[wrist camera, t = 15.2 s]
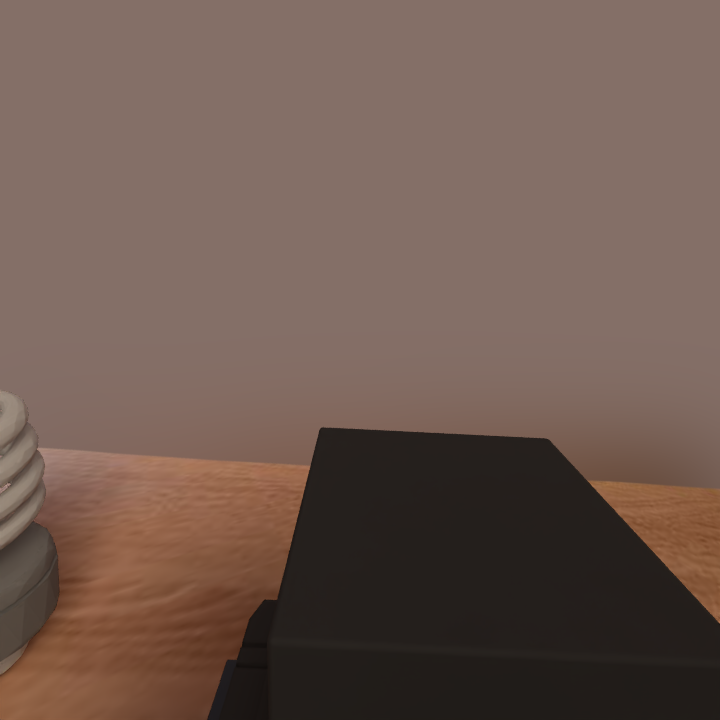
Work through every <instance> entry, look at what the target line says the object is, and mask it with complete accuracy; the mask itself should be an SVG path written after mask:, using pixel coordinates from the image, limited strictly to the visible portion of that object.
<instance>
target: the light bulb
mask: <svg viewBox="0 0 720 720" xmlns="http://www.w3.org/2000/svg"><path fill="white" fill-rule="evenodd" d="M0 410H2V412H1V411H0V455H2V457H1V458H0V488H1V487H3V486H4V485H6V484H7V483H10V484H11V486H10V487H8V488H7V489H6V490H5V491H4V492H2V493H1V494H0V676H1V675H2V674H3V673H4V672H5V671H7V670H8V669H9V668H10V667H11V666H12V665H13V664H14V663H15V662H16V661H17V660H18V659H19V658H20V657H21V656H22V654H23V652H24V650H25V649H26V647H27V645H28V641H29V640H30V639H31V638H33V637H34V636H35V635H36V634H37V633H38V632H39V631H40V629H41V628H42V627H43V625H44V624H45V622H46V621H47V620H48V618H49V617H50V615H51V614H52V613H53V611H54V610H55V607H56V605H57V601H58V597H59V574H58V555H57V551H56V547H55V543H54V541H53V537H52V536H51V534H50V533H49V531H48V530H47V528H45V527H43V526H41V525H39V524H37V523H35V522H32V521H33V520H34V519H35V518H36V516H37V515H38V513H39V511H40V509H41V507H42V505H43V503H44V499H45V494H46V489H45V485H44V481H43V479H42V477H43V474H44V468H45V464H44V460H43V457H42V455H41V454H40V452H39V451H38V450H37V448H38V435H37V434H36V432H35V430H34V428H33V427H32V426H31V425H30V424H29V423H28V422H27V420H28V416H29V414H28V408H27V406H26V404H25V403H24V401H23V400H22V399H21V398H20V397H18V396H17V395H15V394H14V393H11V392H7V391H3V390H0ZM13 512H14V513H13ZM12 513H13V514H12Z"/></svg>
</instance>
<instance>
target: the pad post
mask: <svg viewBox="0 0 720 720" xmlns="http://www.w3.org/2000/svg"><path fill="white" fill-rule="evenodd" d="M267 662H268V710H269V720H720V624H719V622H718V621H717V620H716V619H715V618H714V617H713V616H712V615H711V614H710V613H709V612H708V611H707V610H706V608H705V607H704V606H703V605H702V604H701V603H700V602H699V601H698V600H697V599H696V598H695V597H694V596H693V594H692V593H691V592H690V591H689V590H688V589H687V588H686V587H685V586H684V585H683V584H682V583H681V582H680V580H679V579H678V578H677V577H676V576H675V575H674V574H673V573H672V572H671V571H670V570H669V569H668V568H667V566H666V565H665V564H664V563H663V562H662V561H661V560H660V559H659V558H658V557H657V556H656V555H655V553H654V552H653V551H652V550H651V549H650V548H649V547H648V546H647V545H646V544H645V543H644V542H643V541H642V539H641V538H640V537H639V536H638V535H637V534H636V533H635V532H634V531H633V530H632V529H631V528H630V527H629V525H628V524H627V523H626V522H625V521H624V520H623V519H622V518H621V517H620V516H619V515H618V514H617V513H616V511H615V510H614V509H613V508H612V507H611V506H610V505H609V504H608V503H607V502H606V501H605V500H604V499H603V497H602V496H601V495H600V494H599V493H598V492H597V491H596V490H595V489H594V488H593V487H592V486H591V484H590V483H589V482H588V481H587V480H586V479H585V478H584V477H583V476H582V475H581V474H580V473H579V472H578V470H577V469H576V468H575V467H574V466H573V465H572V464H571V463H570V462H569V461H568V460H567V459H566V458H565V456H564V455H563V454H562V453H561V452H560V451H559V450H558V449H557V448H556V447H555V446H554V445H553V444H552V443H551V441H550V440H548V439H544V438H523V437H504V436H484V435H464V434H444V433H424V432H403V431H383V430H363V429H343V428H321V429H320V430H319V435H318V439H317V442H316V446H315V450H314V455H313V458H312V462H311V466H310V470H309V474H308V478H307V482H306V486H305V490H304V494H303V498H302V502H301V506H300V510H299V514H298V518H297V522H296V526H295V530H294V534H293V538H292V542H291V546H290V550H289V554H288V558H287V562H286V566H285V570H284V574H283V578H282V582H281V586H280V590H279V594H278V598H277V602H276V606H275V610H274V614H273V619H272V623H271V627H270V631H269V635H268V639H267Z"/></svg>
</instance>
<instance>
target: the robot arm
mask: <svg viewBox="0 0 720 720" xmlns="http://www.w3.org/2000/svg"><path fill="white" fill-rule="evenodd" d="M276 602H277V600H264V601H263V602H262V603H261V605H260V606H259V607H258V609H257V610H256V611H255V613H254V614H253V615H252V616H251V618H250V619H249V622H248V626H247V629H246V632H245V635H244V639H243V642H242V647H241V648H240V652H239V655H238V658H237V661H236V667H235V668H234V671H233V674H232V678H231V681H230V684H229V687H228V690H227V694H226V697H225V700H224V703H223V707H222V710H221V713H220V716H219V720H269V710H268V662H267V639H268V635H269V631H270V627H271V623H272V619H273V614H274V610H275V606H276Z"/></svg>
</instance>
